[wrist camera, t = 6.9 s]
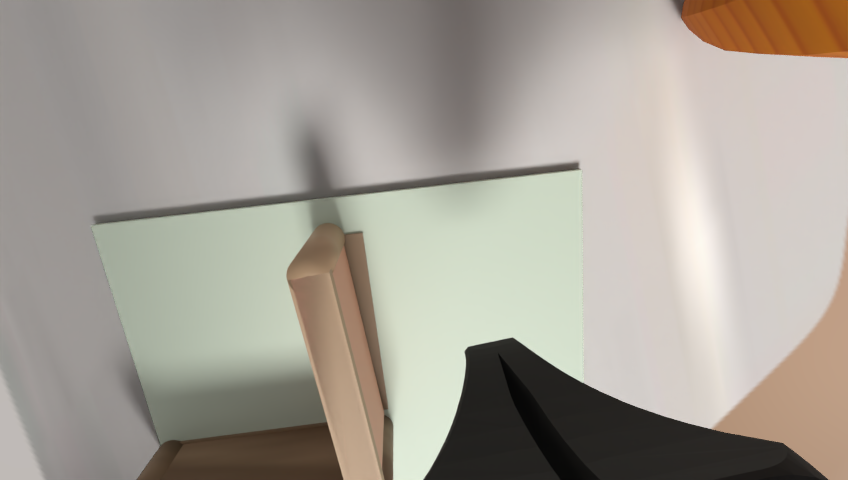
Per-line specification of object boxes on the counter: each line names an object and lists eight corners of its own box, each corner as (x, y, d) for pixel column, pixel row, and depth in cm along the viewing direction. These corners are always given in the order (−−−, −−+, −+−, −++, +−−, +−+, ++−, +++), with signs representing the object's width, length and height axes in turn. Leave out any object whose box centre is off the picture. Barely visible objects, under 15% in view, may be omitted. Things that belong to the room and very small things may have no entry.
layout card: (581, 470, 21) (585, 477, 20) (190, 524, 20) (186, 531, 20) (578, 169, 17) (583, 170, 16) (96, 223, 16) (88, 226, 16)
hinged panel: (340, 220, 16) (324, 252, 12) (386, 411, 18) (384, 489, 15) (308, 226, 16) (281, 260, 12) (358, 417, 18) (348, 496, 15)
